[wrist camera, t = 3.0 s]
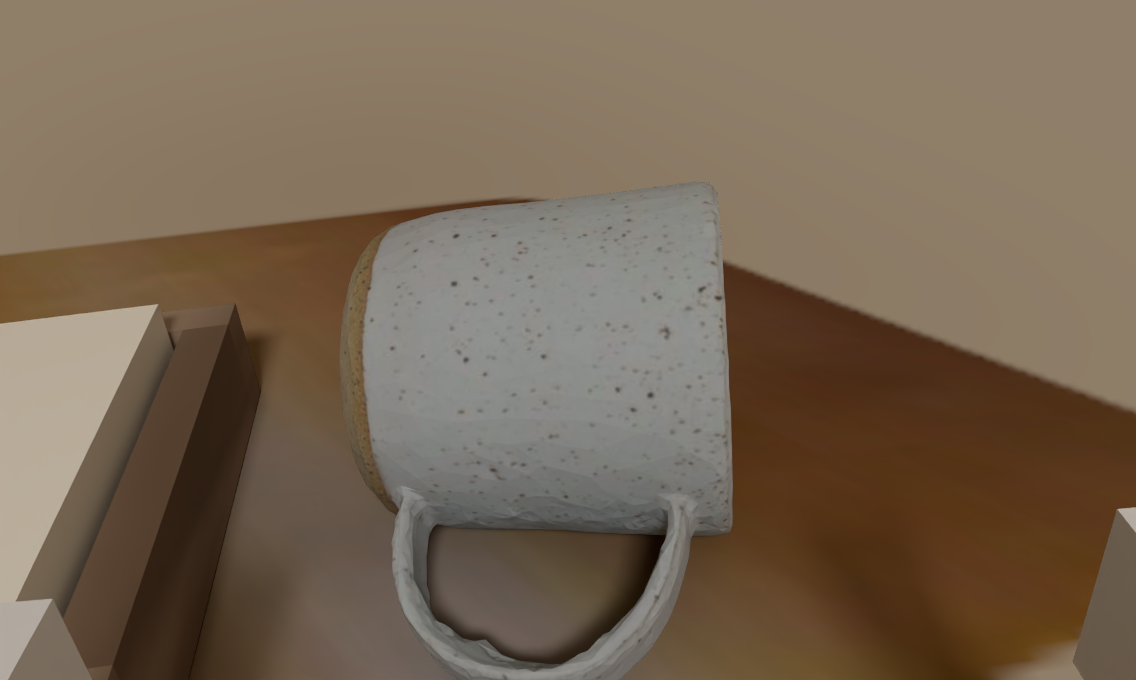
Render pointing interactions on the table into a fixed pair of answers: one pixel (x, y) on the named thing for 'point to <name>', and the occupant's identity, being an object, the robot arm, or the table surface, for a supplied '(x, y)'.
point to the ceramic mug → (545, 392)
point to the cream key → (69, 437)
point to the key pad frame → (169, 508)
